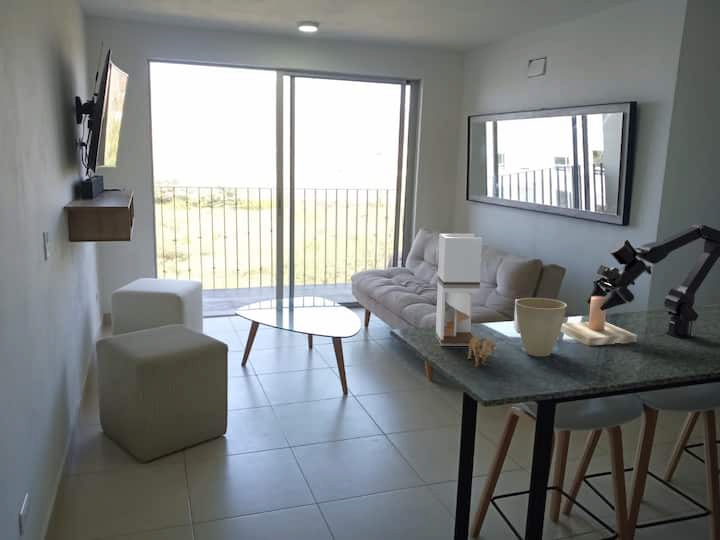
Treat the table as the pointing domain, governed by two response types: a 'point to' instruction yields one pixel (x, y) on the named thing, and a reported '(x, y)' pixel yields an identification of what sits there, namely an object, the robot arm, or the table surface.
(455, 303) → the white two-tier tower
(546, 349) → the plant pot
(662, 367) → the table surface
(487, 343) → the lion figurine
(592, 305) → the peach capsule
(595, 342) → the birch base plate
